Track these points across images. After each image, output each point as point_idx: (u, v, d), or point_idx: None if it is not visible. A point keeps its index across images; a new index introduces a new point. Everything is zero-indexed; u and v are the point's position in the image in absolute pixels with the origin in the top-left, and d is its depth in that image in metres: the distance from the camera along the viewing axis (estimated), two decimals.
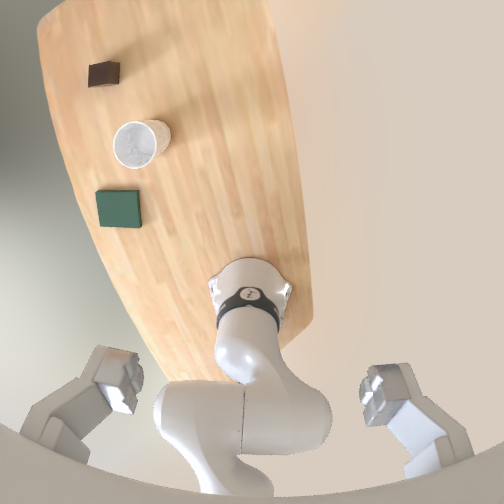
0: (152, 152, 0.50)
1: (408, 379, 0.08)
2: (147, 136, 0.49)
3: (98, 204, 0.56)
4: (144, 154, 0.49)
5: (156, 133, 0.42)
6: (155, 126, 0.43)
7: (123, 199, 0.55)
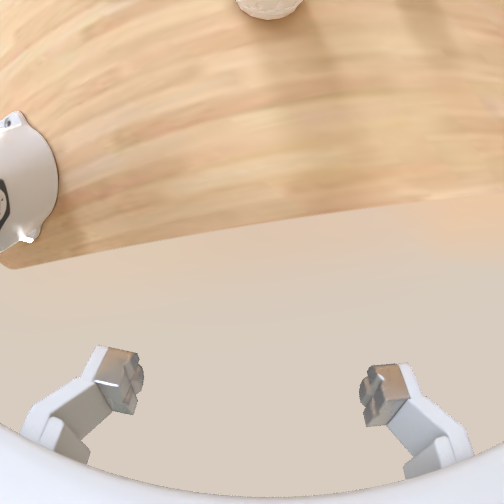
0: None
1: (408, 379, 0.08)
2: None
3: None
4: None
5: None
6: None
7: None
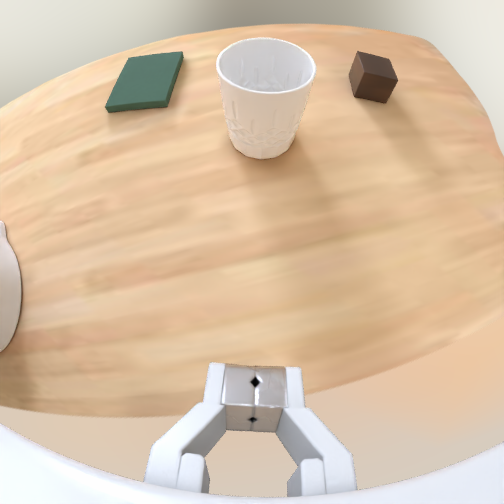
0: None
1: (292, 385, 0.08)
2: None
3: (162, 54, 0.31)
4: None
5: (288, 100, 0.19)
6: (296, 110, 0.21)
7: (158, 83, 0.30)
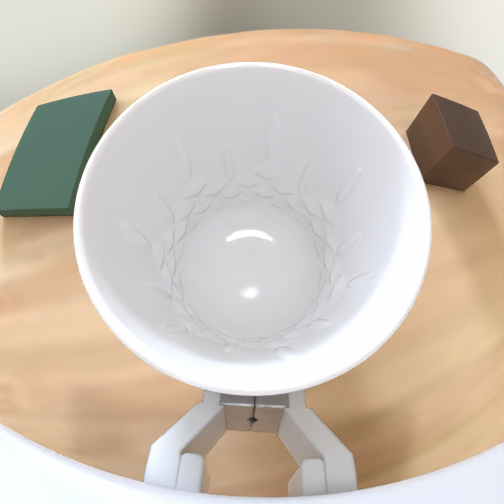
0: (188, 275, 0.13)
1: None
2: (256, 254, 0.14)
3: (80, 98, 0.17)
4: (182, 242, 0.12)
5: None
6: None
7: (63, 165, 0.16)
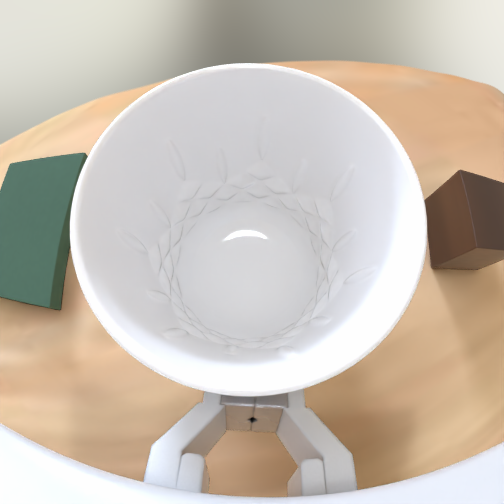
0: (186, 279, 0.13)
1: None
2: (252, 254, 0.14)
3: (52, 161, 0.16)
4: (178, 245, 0.12)
5: None
6: None
7: (39, 252, 0.14)
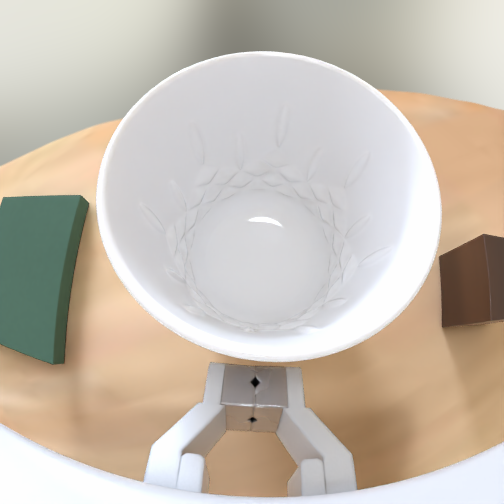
0: (199, 264, 0.13)
1: (292, 386, 0.08)
2: (265, 241, 0.14)
3: (46, 201, 0.15)
4: (192, 230, 0.13)
5: None
6: None
7: (38, 305, 0.13)
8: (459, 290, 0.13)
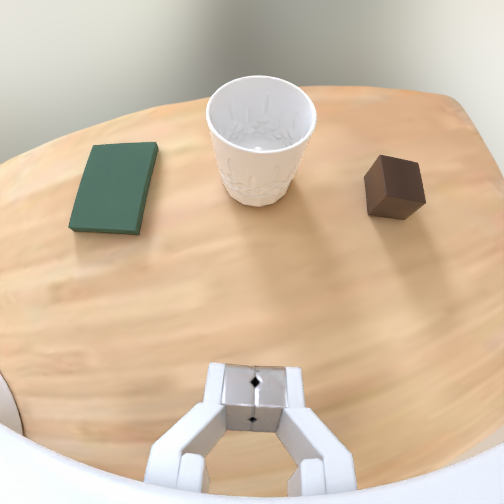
0: None
1: (292, 386, 0.08)
2: None
3: (131, 145, 0.28)
4: None
5: (289, 156, 0.19)
6: (297, 161, 0.21)
7: (126, 199, 0.26)
8: (373, 189, 0.27)
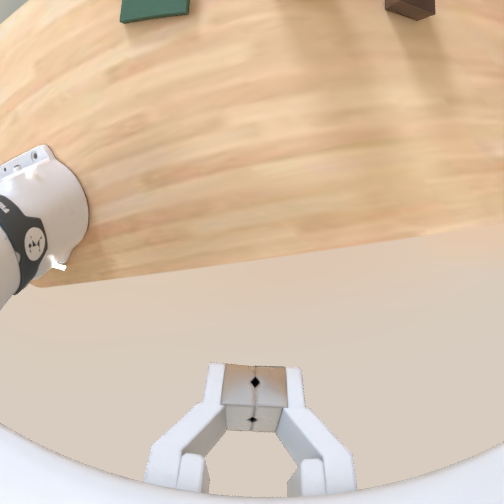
0: None
1: (292, 386, 0.08)
2: None
3: None
4: None
5: None
6: None
7: None
8: None
